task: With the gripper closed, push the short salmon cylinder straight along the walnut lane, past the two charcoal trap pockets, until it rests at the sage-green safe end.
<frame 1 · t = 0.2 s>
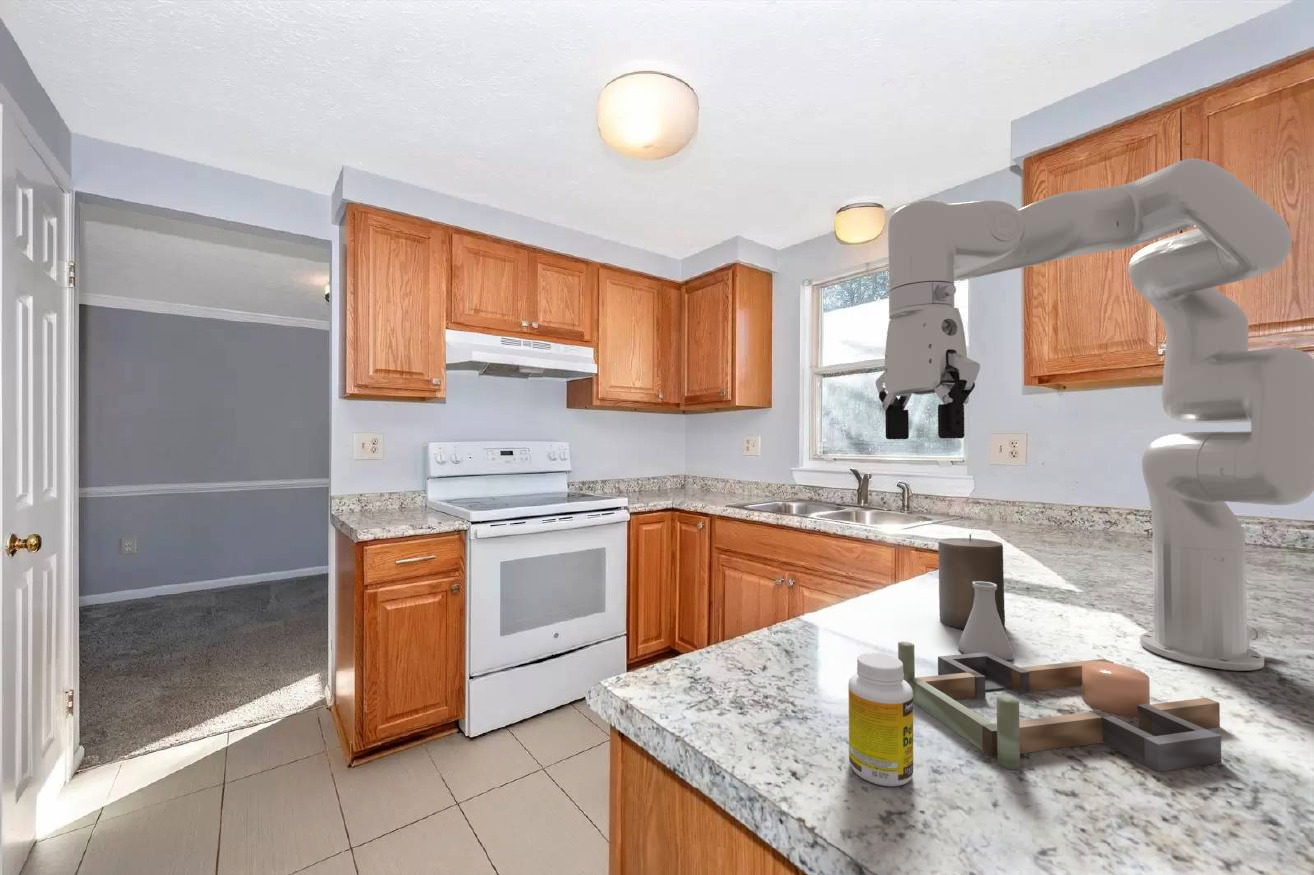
hand: (922, 438, 70), 31 cm above the countertop, tool pointing down, fingers open, 9 cm apart
supplement bottle: (880, 773, 51), on the countertop
pillar candle: (970, 624, 94), on the countertop
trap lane: (1042, 714, 62), on the countertop
flask: (985, 654, 80), on the countertop
short salmon cylinder: (1115, 706, 64), on the countertop
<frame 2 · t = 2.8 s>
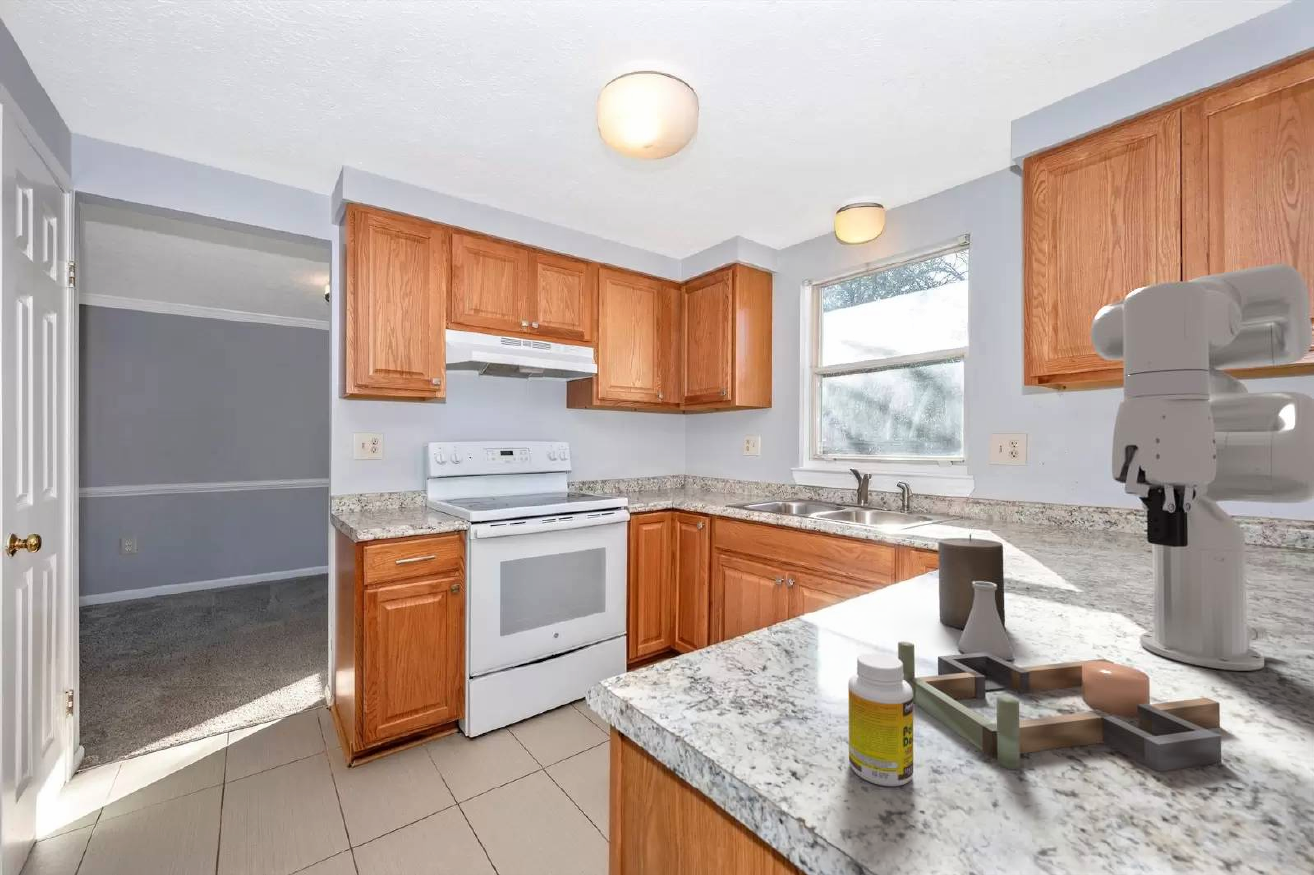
hand: (1167, 544, 66), 18 cm above the countertop, tool pointing down, fingers closed
nothing on the countertop moved.
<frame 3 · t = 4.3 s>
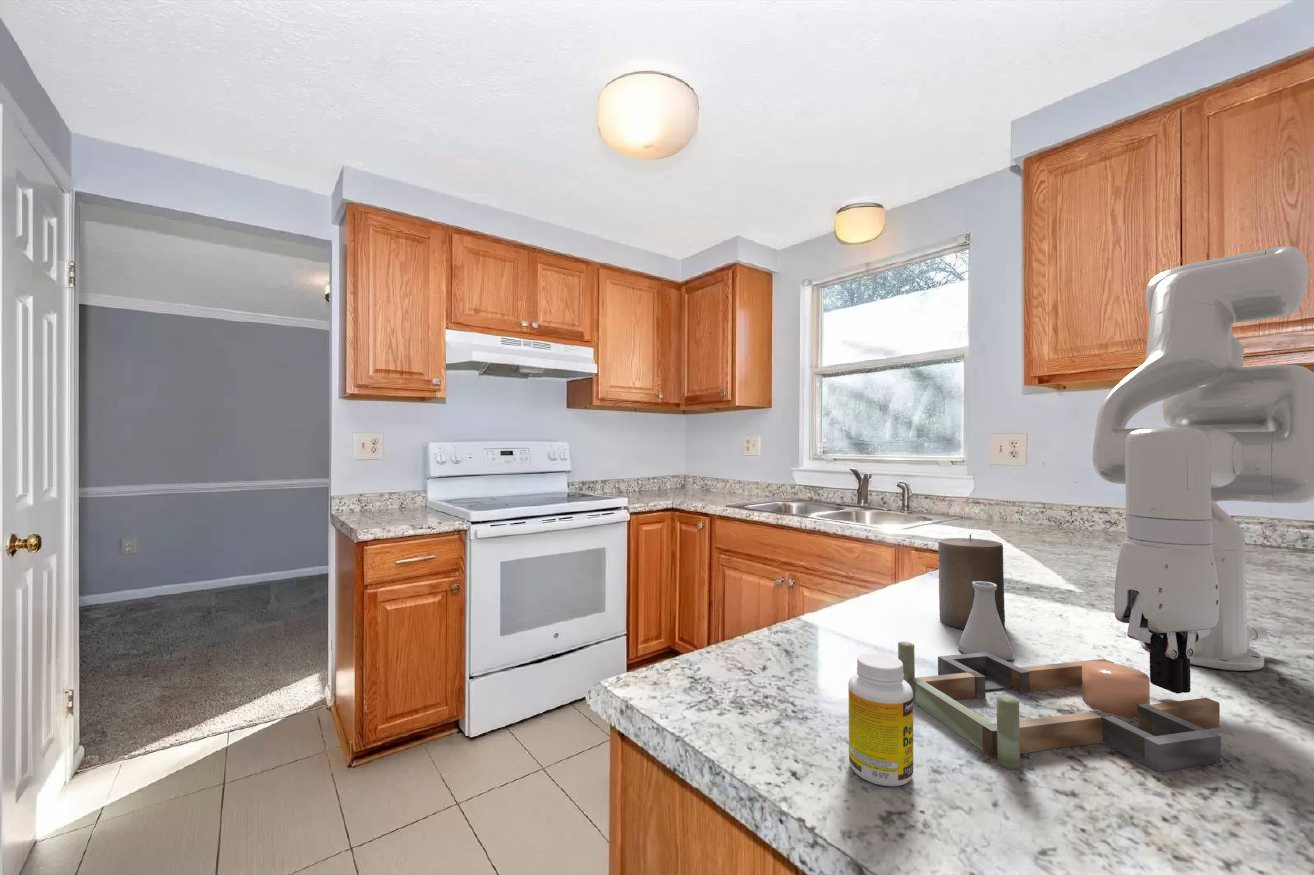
hand: (1169, 688, 65), 1 cm above the countertop, tool pointing down, fingers closed
nothing on the countertop moved.
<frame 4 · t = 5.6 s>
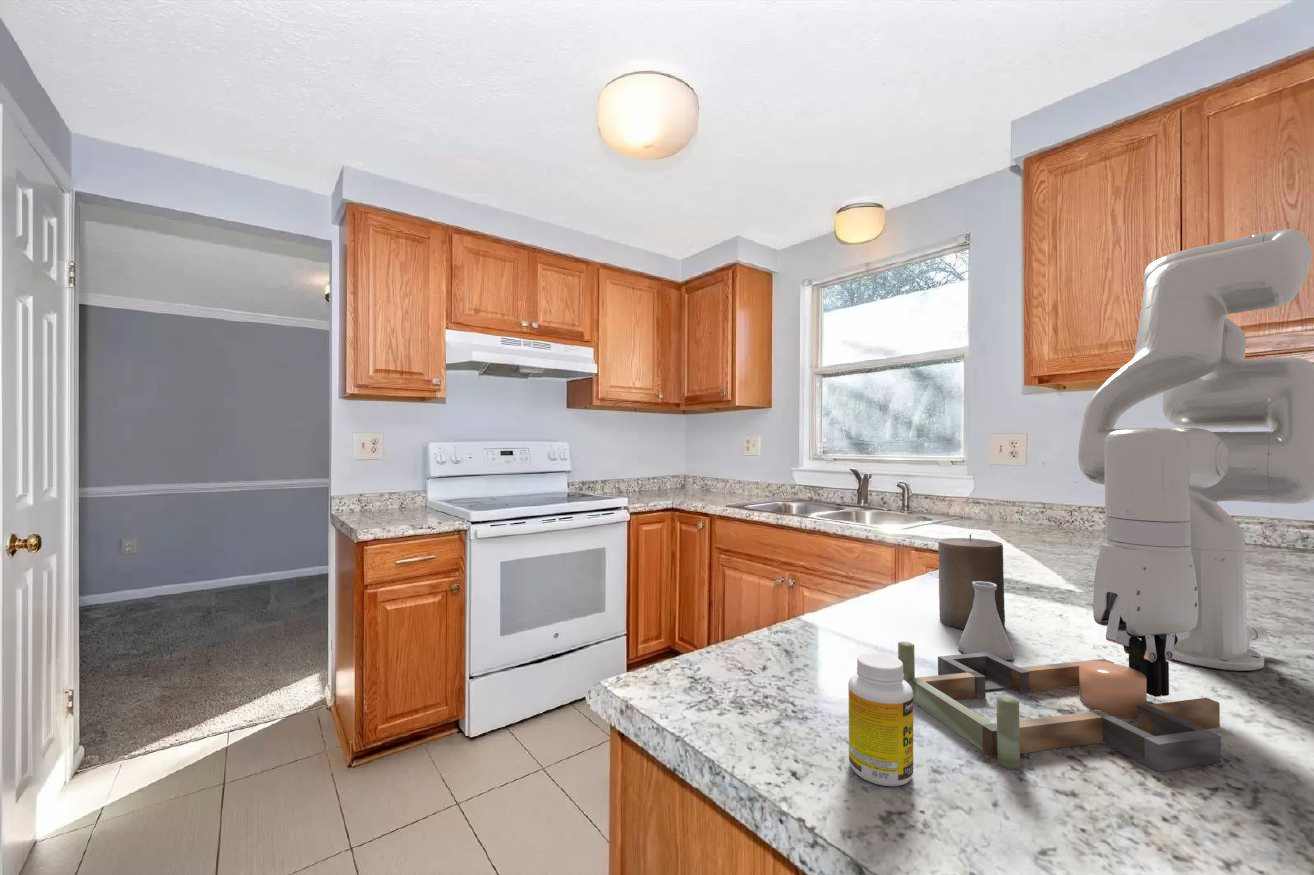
hand: (1148, 691, 65), 1 cm above the countertop, tool pointing down, fingers closed
short salmon cylinder: (1112, 706, 64), on the countertop, touching gripper
everything else where it was.
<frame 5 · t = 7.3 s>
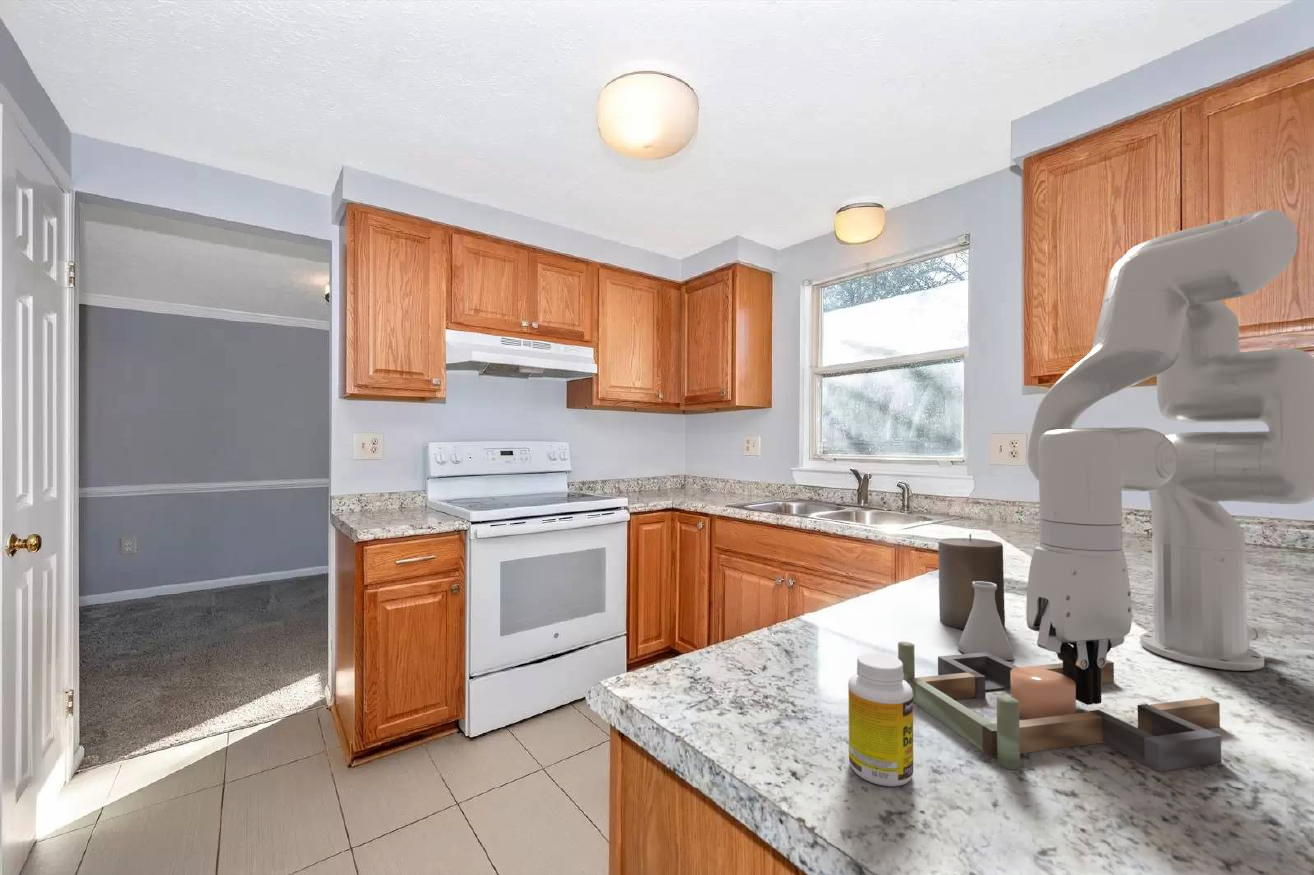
hand: (1081, 698, 63), 1 cm above the countertop, tool pointing down, fingers closed
short salmon cylinder: (1042, 713, 62), on the countertop, touching gripper
everything else where it was.
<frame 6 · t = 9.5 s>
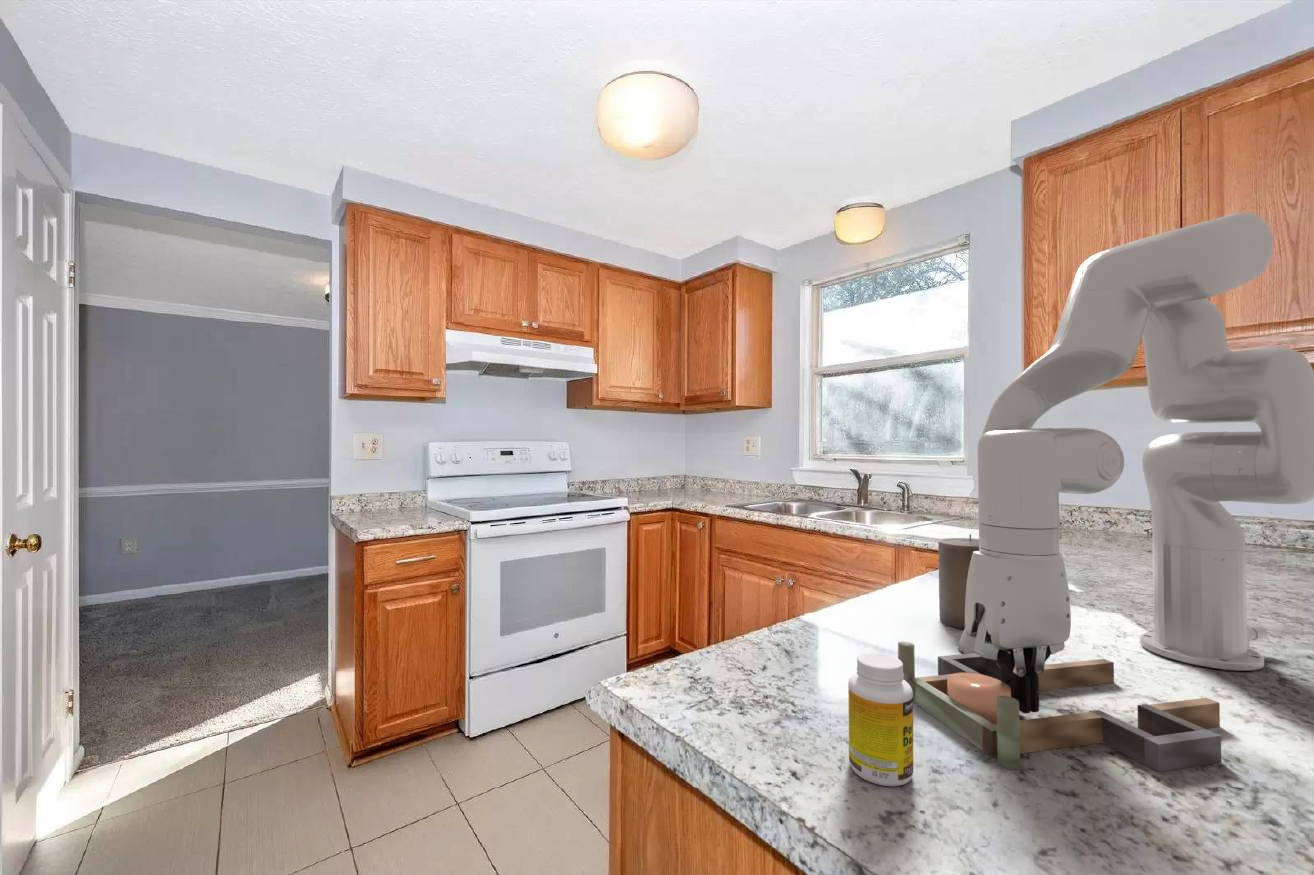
hand: (1020, 706, 61), 1 cm above the countertop, tool pointing down, fingers closed
short salmon cylinder: (978, 720, 61), on the countertop, touching gripper, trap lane
everything else where it was.
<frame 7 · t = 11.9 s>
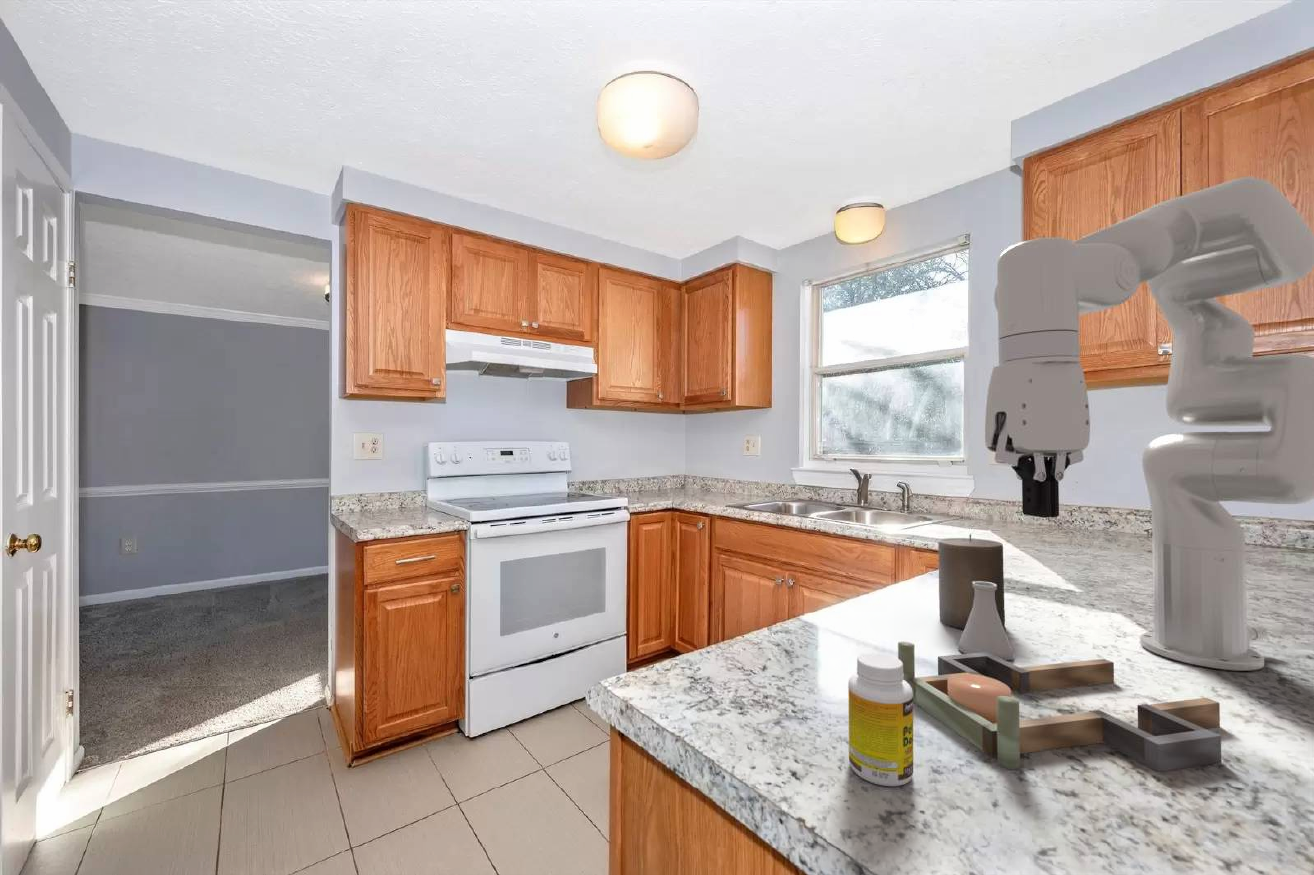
hand: (1040, 515, 63), 22 cm above the countertop, tool pointing down, fingers closed
short salmon cylinder: (978, 721, 61), on the countertop
everything else where it was.
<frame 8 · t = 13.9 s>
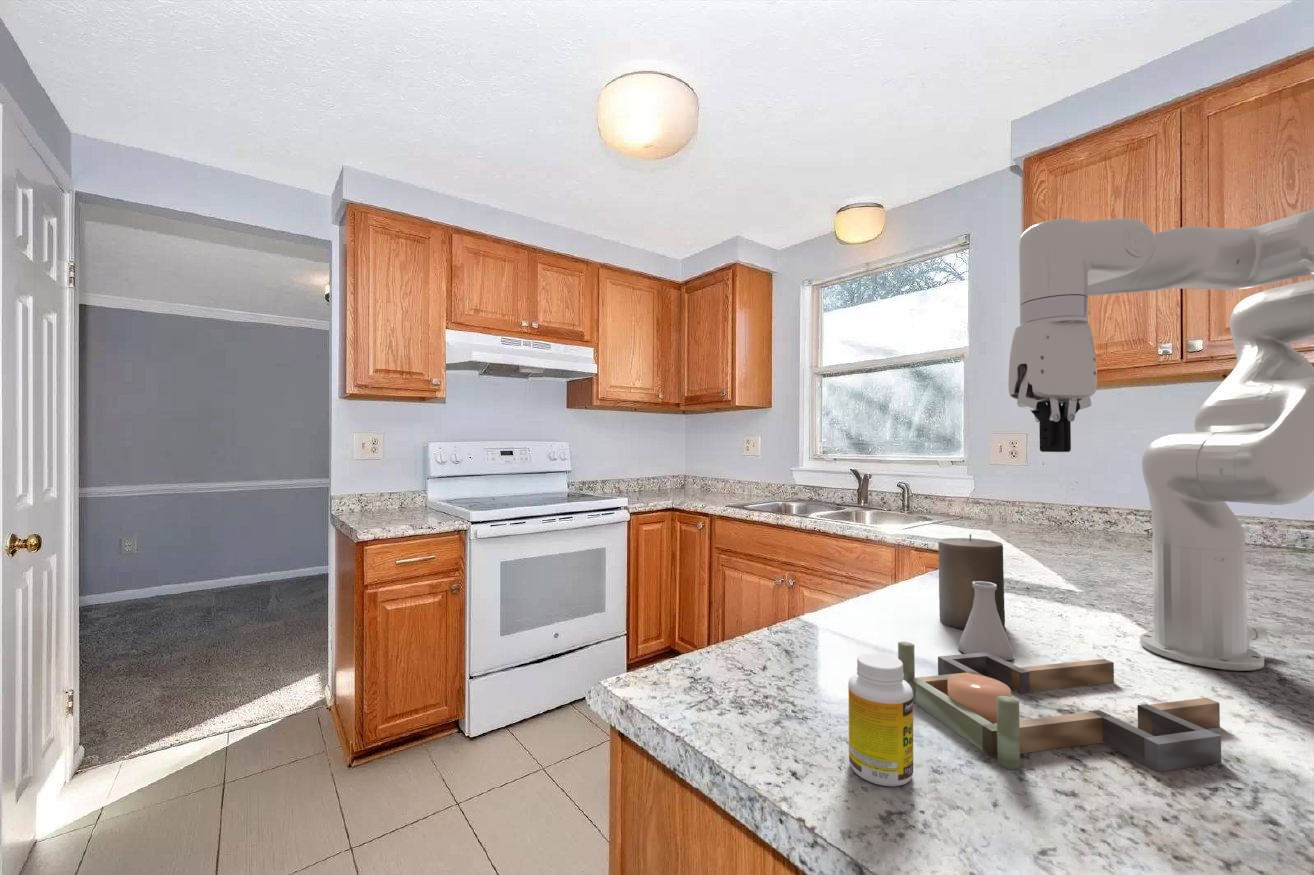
hand: (1055, 451, 75), 29 cm above the countertop, tool pointing down, fingers closed
nothing on the countertop moved.
at the end: short salmon cylinder 0.3 cm from the target spot, on the countertop; short salmon cylinder tilted 0°; short salmon cylinder moved 18.0 cm from its start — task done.
